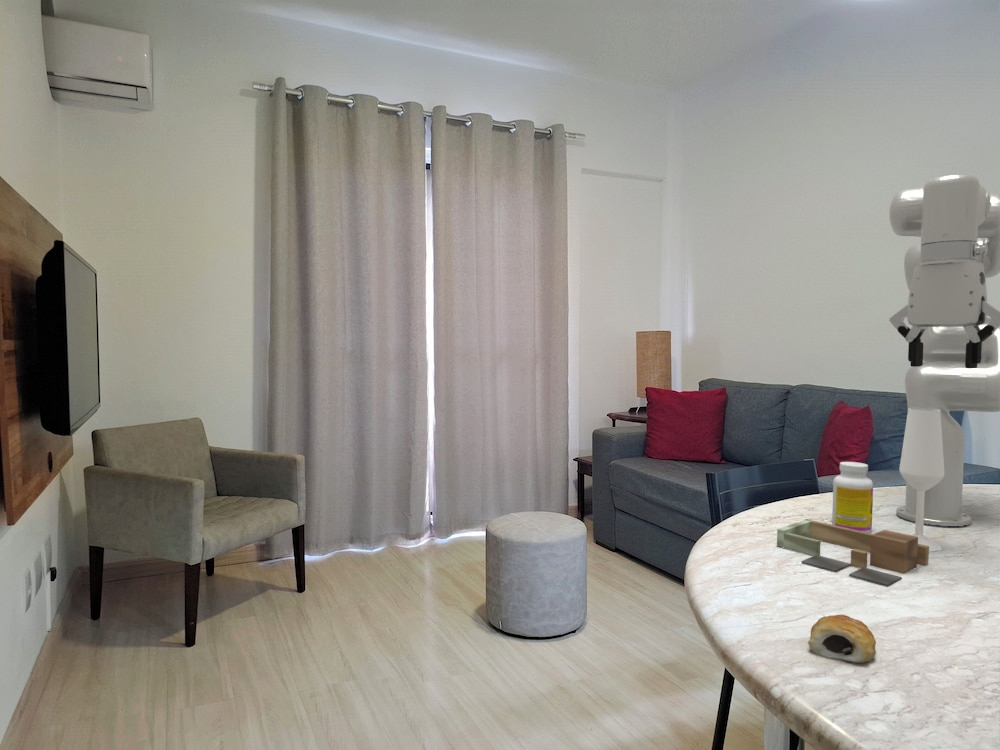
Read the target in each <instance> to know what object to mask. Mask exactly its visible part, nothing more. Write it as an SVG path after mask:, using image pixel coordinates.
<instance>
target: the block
mask: <svg viewBox="0 0 1000 750" xmlns="http://www.w3.org/2000/svg"><path fill="white" fill-rule="evenodd" d="M872 534H873V535H871V549H870V554H869V566H871V567H875V568H878V569H882V570H886V571H890V572H894V573H897V572H898V574H901V575H905V574H907V573H909V572H911V571H913V570H915V569H917V567H918V564H917V551H918V537H916V536H911V535H912V534H911V535H910V534H906V533H902V532H897V531H892V530H888V529H882V530H880V531H878V532H876V533H872ZM914 568H915V569H914Z"/></svg>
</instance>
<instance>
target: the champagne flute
mask: <svg viewBox="0 0 1000 750" xmlns="http://www.w3.org/2000/svg"><path fill="white" fill-rule="evenodd" d="M903 435H904V436H903V441H902V442H903V443H902V449H901V454H900V455H901V456H900V462H899V469H898V470H899V473H900V475H901V477H902V478H903V479H904V481H905V482H907V483H908V484H909V485H910V486H911V487H913V488H914V489H916V490H917V499H916V522H915V527H914V533H913V534H911V536H916V537H918V544H921V545H925V546H929V552H936V551H935V550H938V551H940V550H941V549H940V547H941V546H939V545H938V544H937V543H935V542H934V541H932V540H931V539H930V538H928V537H926V536H925V535H924V524H923V520H924V496H925V491H926V490H929V489H930V488H932V487H933V486H935V485H936V484H938V483H939V482H940V481H941V480H942V478H943V477H944V474H945V473H944V458H943V443H942V428H941V413H940V410H938V409H930V408H908V407H907V415H906V422H905V428H904V434H903ZM939 549H940V550H939Z"/></svg>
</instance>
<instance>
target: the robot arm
mask: <svg viewBox="0 0 1000 750" xmlns="http://www.w3.org/2000/svg"><path fill="white" fill-rule="evenodd" d="M889 223H890V226H891V229H892V230H893V232H894V234H896V235H897V236H901V237H919V238H920V242H918V243H914V244H913V245H912V246H910V247H909V248H908V249H907V250H906V252H905V255H904V260H903V262H904V263H903V264H904V265H903V267H904V276H905V281H906V285H907V289H908V291H909V293H908V302H907V305H905V306H904V307H902V308H901V309H900V310H899V311H897V312H896V313H894V315H892V316H890V318H889V322H890V323H891V325H892V326H893V327H894V328H895V329H896V330H897V332H898V333H899V334H900V335H901V336H902V337H903V338H904V339H905V341H906V342H907V343H908V349H907V350H908V352H907V354H908V355H907V356H908V357H907V360H908V362H910V367H909V369H908V370H907V371H906V373H905V376H904V377H905V378H904V388H905V394H906V395H905V396H906V403H907V405H906V406H907V409H908V408H930V409H938V410H940V413H941V428H942V443H943V458H944V473H945V474H944V477H943V478H942V480H941V481H940V482H939V483H938V484H936V485H935V486H933V487H932V488H930V489H929V490H926V491H925V496H924V520H923V525H928V524H930V525H931V526H935V525H940V526H939V527H948V526H959V527H965V526H964V525H966V526H969V525H970V524H971V522H972V518H971V516H970V515H969V514H967V513H964V512H962V507H963V506H962V505H963V491H964V490H963V488H964V487H963V484H964V465H965V464H964V463H965V461H964V460H965V444H966V443H965V442H966V436H965V432H964V430H963V427H962V426H961V425H960V424H959V422H958V421H957V420H956V419H954V417H952V415H951V414H950V412H957V411H961V412H979V413H982V412H983V413H986V412H987V413H998V412H1000V310H998V309H997V308H996V307H994V306H992V305H991V303H988V294H987V281H986V280H987V279H988V278H993V277H995V276H997V275H998V274H1000V194H997V193H990V192H989V191H987V190H986V188H985V187H984V186H983V185H982V184H980V182H979V179H978V178H977V177H976V176H974V175H972V174H964V173H963V174H948V175H941V176H937V177H934V178H932V179H929V181H927V182H926V183H925V184H924V186H923V187H915V188H906V189H902V190H899V191H898V192H896V193H895V195H894V196H893V197H892V200H891V202H890V206H889ZM905 319H907V322H908V324H909V325H911V328H910V327H909V326H908V325H906V324H905V322H904V320H905ZM905 482H906V481H905ZM916 499H917V490H916V489H914V488H913V487H911V486H910V485H909V484H908V483H907V482H906V483H905V505H901V506H898V507H897V508H895V509H896V510H895V511H896V512H895V513H896V515H897V516H898V517H900V518H902V519H904V520H907V521H909V520H910V521H909V522H913V521H914V522H913V523H916ZM930 525H929V526H930Z"/></svg>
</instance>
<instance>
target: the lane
mask: <svg viewBox="0 0 1000 750" xmlns="http://www.w3.org/2000/svg"><path fill="white" fill-rule="evenodd" d="M873 534H874V533H872V532H871V533H867V532H862V531H858V530H853V529H849V528H844V527H840V526H835V525H832V523H831V524H830V523H829V524H828V523H826V522H822V521H818V520H817V521H816V520H813V519H803V520H801V521H798V522H795V523H792V524H789V525H785V526H784V527H783V526H782V527H780V528H777V529H776V547H778V546H781V547H780V548H782V547H784V548H783V549H786V548H787V549H786V550H789V549H791V550H790V551H793V550H795V551H794V552H797V551H798V552H797V553H801V552H802V554H805V553H806V554H805V555H809V556H810V557H808V558H806V559H803V560H801V562H802V563H801V564H803V565H807V566H808V565H809V566H811V567H815V568H818V569H822V570H826V571H829V572H832V573H838V572H840V571H842V570H844V569H846V568H849V567H850V566H851V567H854V568H858V569H857V570H855V571H853V572H851V573H848V577H852V578H855V579H858V580H861V581H866V582H870V583H872V584H876V585H879V586H883V587H884V586H885V587H889V586H891V585H894V584H895V583H898V582H899V581H901V580H902V576H900V575H899V576H898V575H895V574H892V573H888V572H884V571H880V570H876V569H872V568H868V553H870V549H871V535H873ZM821 542H825V543H829V544H833V545H836V546H841V547H846V548H849V549H851V550H850V562H849V563H848V562H845V561H841V560H838V559H833V558H829V557H826V556H824V555H821ZM929 556H930V551H929V546H925V545H921V544H918V551H917V566H919V565H920V566H922V567H923V566H924V567H927V566H929V560H930V559H929Z"/></svg>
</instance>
